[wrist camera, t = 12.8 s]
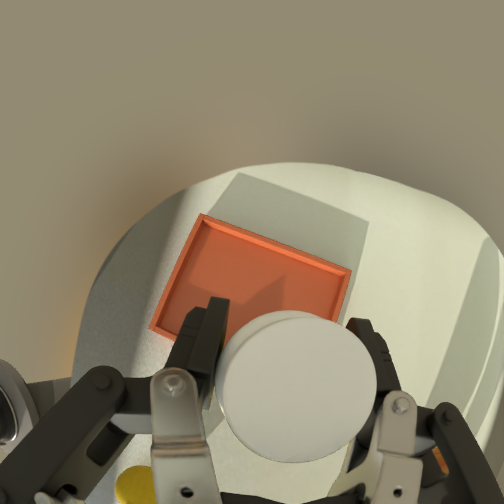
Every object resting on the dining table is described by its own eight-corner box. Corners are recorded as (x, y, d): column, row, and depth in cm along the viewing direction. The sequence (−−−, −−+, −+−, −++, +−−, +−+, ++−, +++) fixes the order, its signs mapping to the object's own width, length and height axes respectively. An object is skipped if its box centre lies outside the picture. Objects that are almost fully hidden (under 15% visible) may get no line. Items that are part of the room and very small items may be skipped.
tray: (154, 329, 27) (148, 328, 25) (202, 220, 31) (199, 212, 29) (306, 388, 26) (310, 392, 24) (345, 274, 30) (352, 270, 28)
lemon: (172, 497, 21) (155, 532, 13) (129, 481, 21) (103, 510, 14) (179, 465, 23) (161, 500, 15) (133, 449, 23) (104, 476, 15)
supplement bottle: (256, 419, 13) (272, 502, 5) (207, 350, 14) (164, 370, 6) (328, 369, 14) (415, 398, 6) (281, 302, 15) (327, 263, 7)
